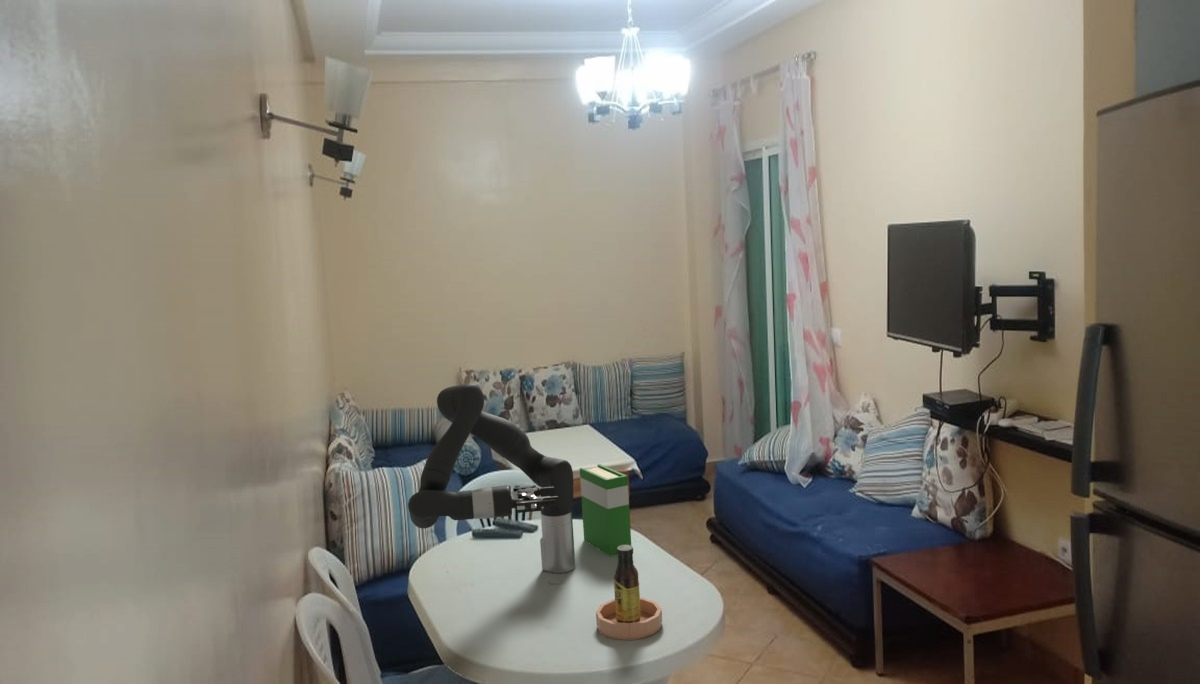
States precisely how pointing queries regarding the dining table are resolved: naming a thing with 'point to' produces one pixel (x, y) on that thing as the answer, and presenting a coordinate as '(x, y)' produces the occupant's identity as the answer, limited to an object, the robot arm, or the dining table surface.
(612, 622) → the terracotta bowl
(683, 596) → the dining table surface
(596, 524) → the hardback book
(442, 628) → the dining table surface
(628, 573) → the sauce bottle
